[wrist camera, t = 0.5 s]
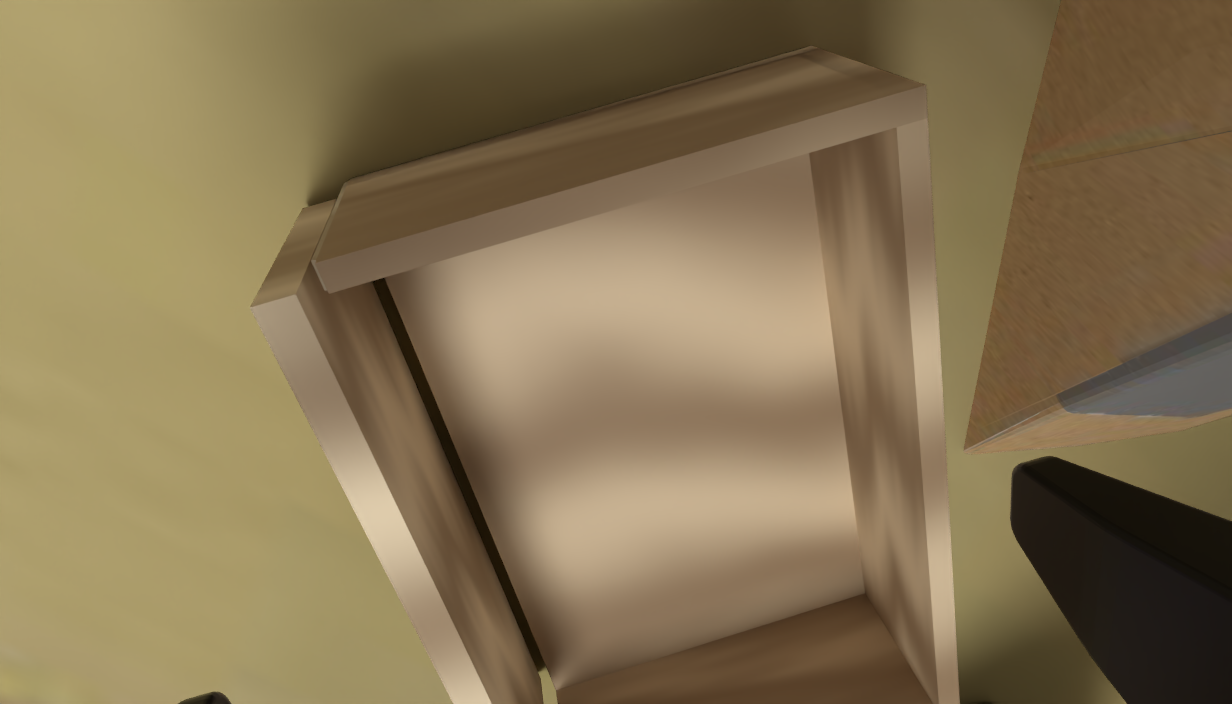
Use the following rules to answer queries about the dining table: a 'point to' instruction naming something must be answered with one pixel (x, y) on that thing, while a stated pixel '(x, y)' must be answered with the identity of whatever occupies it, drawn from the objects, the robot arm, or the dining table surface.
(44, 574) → the dining table surface
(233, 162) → the dining table surface
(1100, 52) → the sandwich container
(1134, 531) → the robot arm
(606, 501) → the carton
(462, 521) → the flap
